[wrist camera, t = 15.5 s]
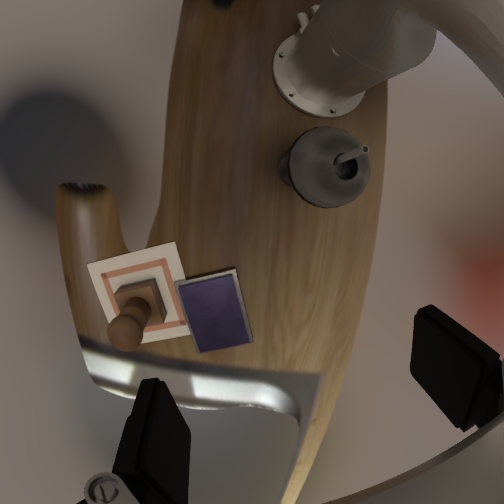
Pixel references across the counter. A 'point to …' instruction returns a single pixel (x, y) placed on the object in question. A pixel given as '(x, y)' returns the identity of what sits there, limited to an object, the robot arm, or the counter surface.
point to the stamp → (136, 313)
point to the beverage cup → (326, 167)
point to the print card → (138, 269)
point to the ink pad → (214, 310)
